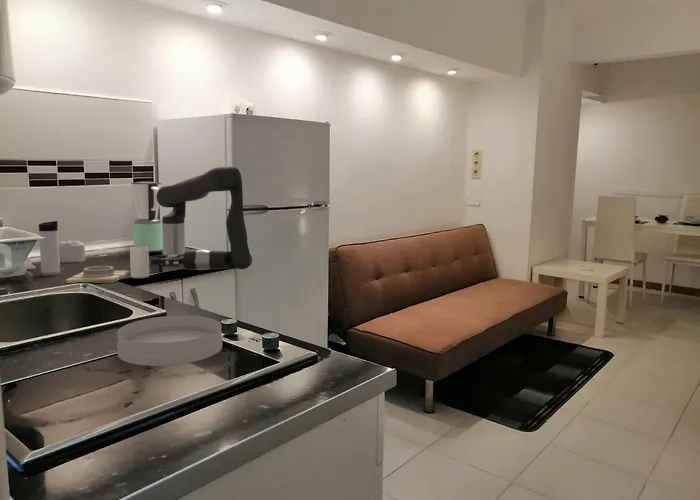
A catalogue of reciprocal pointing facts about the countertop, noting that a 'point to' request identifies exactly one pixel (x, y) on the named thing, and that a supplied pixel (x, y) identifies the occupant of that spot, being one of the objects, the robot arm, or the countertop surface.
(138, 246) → the can
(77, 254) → the light grey rounded block
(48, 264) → the travel mug
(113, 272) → the socket plate
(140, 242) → the juicer
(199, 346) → the dish
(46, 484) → the countertop surface
